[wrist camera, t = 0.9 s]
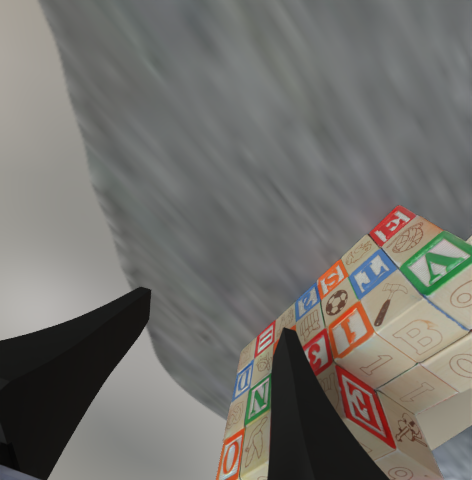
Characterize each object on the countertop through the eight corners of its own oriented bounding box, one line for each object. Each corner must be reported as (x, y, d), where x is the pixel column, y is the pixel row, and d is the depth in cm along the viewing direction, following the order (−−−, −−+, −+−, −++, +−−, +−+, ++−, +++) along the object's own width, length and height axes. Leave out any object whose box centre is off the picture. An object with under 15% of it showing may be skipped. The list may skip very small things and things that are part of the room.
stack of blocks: (397, 200, 19) (565, 290, 8) (457, 247, 19) (699, 397, 8) (240, 351, 27) (210, 497, 16) (284, 381, 28) (285, 543, 17)
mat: (658, 301, 18) (662, 302, 18) (413, 460, 29) (414, 462, 28) (488, 218, 18) (490, 219, 18) (306, 408, 29) (306, 409, 28)
